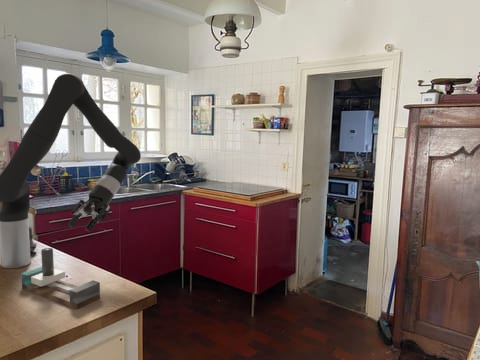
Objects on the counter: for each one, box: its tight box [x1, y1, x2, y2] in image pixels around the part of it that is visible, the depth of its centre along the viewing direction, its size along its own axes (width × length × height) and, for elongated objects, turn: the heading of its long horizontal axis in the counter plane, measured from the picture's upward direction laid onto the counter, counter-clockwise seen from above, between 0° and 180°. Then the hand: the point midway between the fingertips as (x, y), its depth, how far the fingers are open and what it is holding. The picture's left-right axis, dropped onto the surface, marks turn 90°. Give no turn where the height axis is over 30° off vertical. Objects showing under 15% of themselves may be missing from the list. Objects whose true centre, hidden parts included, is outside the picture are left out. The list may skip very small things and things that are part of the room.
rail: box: [20, 266, 101, 310], centre depth 112 cm, size 26×8×5 cm, turn 62°
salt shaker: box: [29, 226, 37, 257], centre depth 145 cm, size 6×6×12 cm
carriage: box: [31, 247, 66, 287], centre depth 113 cm, size 5×8×10 cm, turn 152°
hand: (78, 228), depth 122 cm, fingers open, 8 cm apart
